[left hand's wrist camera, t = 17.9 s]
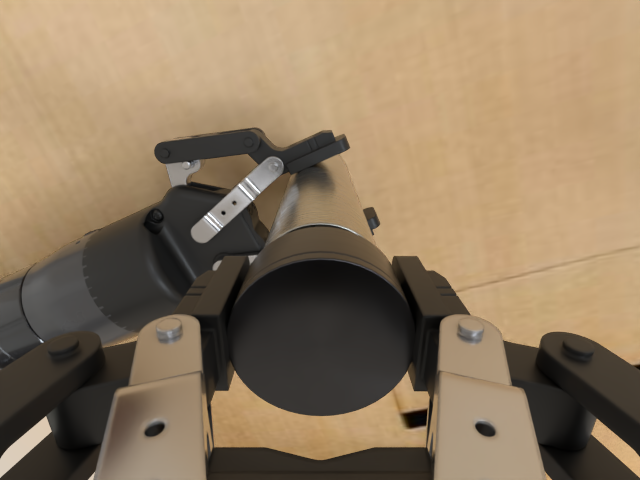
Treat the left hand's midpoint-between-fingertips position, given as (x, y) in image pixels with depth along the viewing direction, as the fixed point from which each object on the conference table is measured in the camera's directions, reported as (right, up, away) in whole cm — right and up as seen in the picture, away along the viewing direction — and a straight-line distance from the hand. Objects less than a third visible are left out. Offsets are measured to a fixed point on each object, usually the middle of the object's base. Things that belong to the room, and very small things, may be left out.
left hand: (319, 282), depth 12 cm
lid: (0, -1, -3) cm, 3 cm away
